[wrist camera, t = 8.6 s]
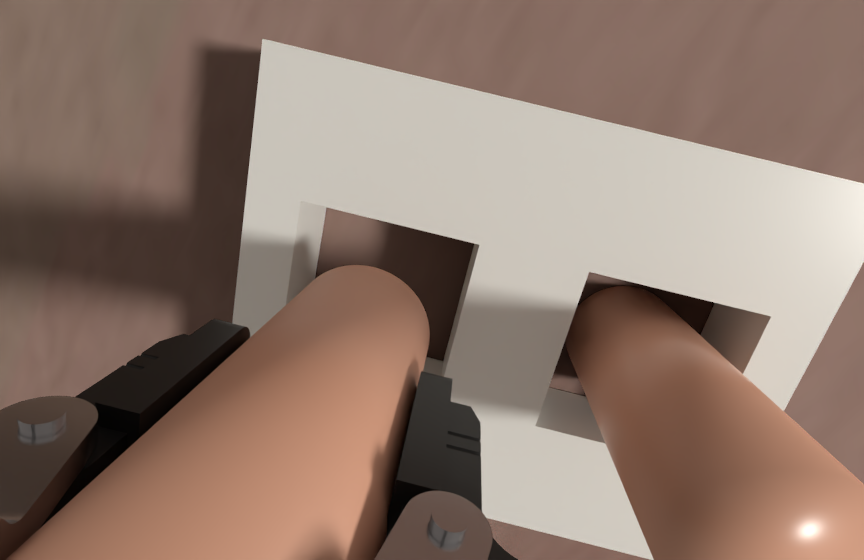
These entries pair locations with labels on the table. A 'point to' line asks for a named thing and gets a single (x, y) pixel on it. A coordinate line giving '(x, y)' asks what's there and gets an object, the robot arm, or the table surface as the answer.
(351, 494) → the pin
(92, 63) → the table surface
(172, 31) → the table surface
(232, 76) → the table surface
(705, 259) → the pin board
